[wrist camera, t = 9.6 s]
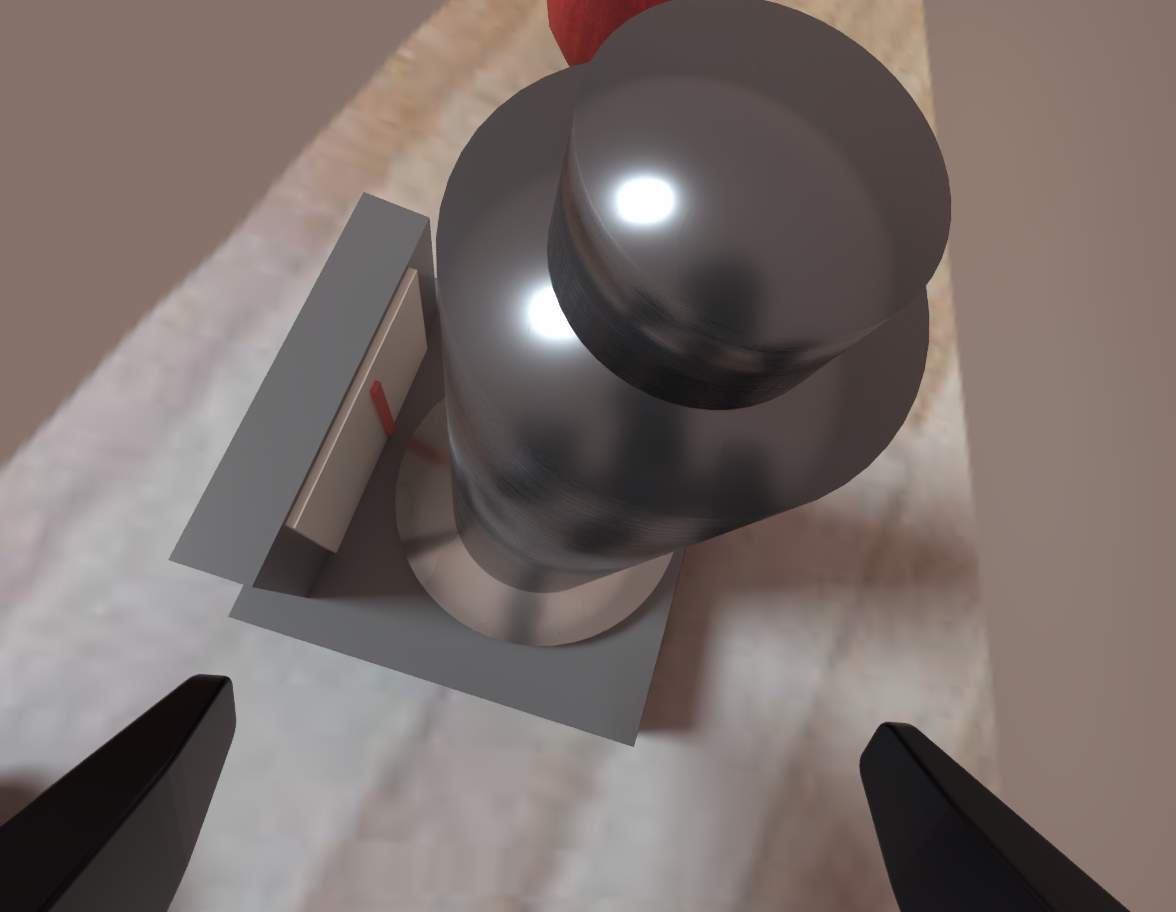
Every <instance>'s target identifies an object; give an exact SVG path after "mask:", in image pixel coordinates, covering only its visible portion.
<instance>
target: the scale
mask: <svg viewBox="0 0 1176 912" xmlns="http://www.w3.org/2000/svg"><path fill="white" fill-rule="evenodd" d="M444 397H445V382H444V368H443V353H442V339H441V324H440V310H439V295H438V281H437V278H434V266H433V254H432V242H431V231H430V219H429V217H426V216H424V215H421V214H418V213H416V212H413V211H411V210H408V209H406V208H403V207H401V206H398V205H395V204H393V203H390V202H388V201H385V200H383V199H380V198H378V197H375V196H372V195H370V194H367V193H365V192H363V194H362V196H361V198H360V200H359V202H358V204H357V206H356V208H355V209H354V211H353V213H352V215H351V217H350V219H349V221H348V223H347V224H346V226H345V228H344V230H343V232H342V234H341V236H340V238H339V240H338V241H337V243H336V245H335V247H334V249H333V251H332V253H331V255H330V256H329V258H328V260H327V262H326V264H325V266H324V268H323V270H322V272H321V273H320V275H319V277H318V279H317V281H316V283H315V285H314V287H313V288H312V290H311V292H310V294H309V296H308V298H307V300H306V302H305V304H304V305H303V307H302V309H301V311H300V313H299V315H298V317H297V319H296V320H295V322H294V324H293V326H292V328H291V330H290V332H289V334H288V336H287V337H286V339H285V341H284V343H283V345H282V347H281V349H280V351H279V352H278V354H277V356H276V358H275V360H274V362H273V364H272V366H271V368H270V369H269V371H268V373H267V375H266V377H265V379H264V381H263V383H262V384H261V386H260V388H259V390H258V392H257V394H256V396H255V398H254V400H253V401H252V403H251V405H250V407H249V409H248V411H247V413H246V415H245V416H244V418H243V420H242V422H241V424H240V426H239V428H238V430H237V432H236V433H235V435H234V437H233V439H232V441H231V443H230V445H229V447H228V448H227V450H226V452H225V454H224V456H223V458H222V460H221V462H220V464H219V465H218V467H217V469H216V471H215V473H214V475H213V477H212V479H211V480H210V482H209V484H208V486H207V488H206V490H205V492H204V494H203V496H202V497H201V499H200V501H199V503H198V505H197V507H196V509H195V511H194V512H193V514H192V516H191V518H190V520H189V522H188V524H187V526H186V528H185V529H184V531H183V533H182V535H181V537H180V539H179V541H178V543H177V544H176V546H175V548H174V550H173V552H172V554H171V556H170V558H169V560H170V561H173V562H176V563H179V564H183V565H186V566H189V567H192V568H195V569H198V570H201V571H204V572H207V573H210V574H213V575H216V576H219V577H222V578H225V579H228V580H231V581H235V582H238V583H241V584H244V585H243V587H242V589H241V591H240V594H239V596H238V598H237V600H236V602H235V604H234V606H233V608H232V610H231V612H230V614H229V616H228V617H231V618H234V619H237V620H240V621H244V622H247V623H250V624H253V625H256V626H259V627H262V628H265V629H268V630H272V631H275V632H278V633H281V634H284V635H287V636H290V637H293V638H296V639H300V640H303V641H306V642H309V643H312V644H315V645H318V646H321V647H324V648H328V649H331V650H334V651H337V652H340V653H343V654H346V655H349V656H352V657H356V658H359V659H362V660H365V661H368V662H371V663H374V664H377V665H380V666H384V667H387V668H390V669H393V670H396V671H399V672H402V673H405V674H408V675H412V676H415V677H418V678H421V679H424V680H427V681H430V682H433V683H436V684H440V685H443V686H446V687H449V688H452V689H455V690H458V691H461V692H464V693H468V694H471V695H474V696H477V697H480V698H483V699H486V700H489V701H492V702H496V703H499V704H502V705H505V706H508V707H511V708H514V709H517V710H520V711H524V712H527V713H530V714H533V715H536V716H539V717H542V718H545V719H548V720H552V721H555V722H558V723H561V724H564V725H567V726H570V727H573V728H577V729H580V730H583V731H586V732H589V733H592V734H595V735H598V736H601V737H605V738H608V739H611V740H614V741H617V742H620V743H623V744H626V745H629V746H633V747H634V744H635V740H636V737H637V733H638V729H639V725H640V722H641V718H642V714H643V710H644V706H645V703H646V699H647V695H648V691H649V687H650V684H651V680H652V676H653V672H654V668H655V665H656V661H657V657H658V653H659V649H660V646H661V642H662V638H663V634H664V630H665V627H666V623H667V619H668V615H669V612H670V608H671V604H672V600H673V596H674V593H675V589H676V585H677V581H678V577H679V574H680V570H681V566H682V562H683V558H684V555H685V551H686V547H685V548H682V549H680V550H677V551H674V552H673V554H672V557H671V560H670V562H669V564H668V566H667V568H666V570H665V572H664V574H663V576H662V578H661V580H660V581H659V583H658V584H657V585H656V587H655V588H654V590H653V591H652V593H651V594H650V595H649V596H648V597H647V598H646V599H645V601H644V602H643V603H642V604H641V605H640V606H639V607H638V608H637V609H636V610H634V611H633V612H632V613H631V614H630V615H629V616H627V617H626V618H625V619H624V620H622V621H620V622H619V623H617V624H616V625H614V626H613V627H611V628H610V629H607V630H605V631H603V632H601V633H599V634H597V635H595V636H592V637H589V638H586V639H583V640H580V641H576V642H573V643H567V644H561V645H555V646H529V645H520V644H513V643H509V642H505V641H501V640H497V639H494V638H491V637H489V636H486V635H484V634H481V633H479V632H477V631H475V630H473V629H471V628H469V627H468V626H466V625H464V624H462V623H461V622H459V621H458V620H456V619H455V618H454V617H453V616H451V615H450V614H449V613H447V612H446V611H445V610H444V609H443V608H442V607H441V606H440V605H439V604H438V603H437V602H436V601H435V600H434V599H433V598H432V597H431V596H430V595H429V594H428V592H427V591H426V590H425V588H424V587H423V586H422V584H421V583H420V581H419V580H418V579H417V577H416V575H415V573H414V572H413V570H412V568H411V566H410V564H409V562H408V560H407V558H406V555H405V552H404V549H403V547H402V544H401V541H400V536H399V532H398V527H397V522H396V508H395V498H396V484H397V479H398V474H399V469H400V465H401V462H402V459H403V456H404V453H405V451H406V448H407V446H408V444H409V442H410V440H411V438H412V436H413V434H414V432H415V431H416V429H417V428H418V426H419V425H420V423H421V422H422V421H423V419H424V418H425V416H426V415H427V414H428V413H429V412H430V411H431V410H432V409H433V408H434V407H435V405H436V404H437V403H438V402H439V401H441V400H442V399H443V398H444Z"/></svg>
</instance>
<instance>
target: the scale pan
mask: <svg viewBox="0 0 1176 912" xmlns="http://www.w3.org/2000/svg"><path fill="white" fill-rule="evenodd" d="M395 508H396V522H397V527H398V532H399V536H400V541H401V544H402V547H403V549H404V552H405V555H406V558H407V560H408V562H409V564H410V566H411V568H412V570H413V572H414V573H415V575H416V577H417V579H418V580H419V581H420V583H421V584H422V586H423V587H424V588H425V590H426V591H427V592H428V594H429V595H430V596H431V597H432V598H433V599H434V600H435V601H436V602H437V603H438V604H439V605H440V606H441V607H442V608H443V609H444V610H445V611H446V612H447V613H449V614H450V615H451V616H453V617H454V618H455V619H456V620H458V621H459V622H461V623H462V624H464V625H466V626H468V627H469V628H471V629H473V630H475V631H477V632H479V633H481V634H484V635H486V636H489V637H491V638H494V639H497V640H501V641H505V642H509V643H513V644H520V645H529V646H555V645H561V644H567V643H573V642H576V641H580V640H583V639H586V638H589V637H592V636H595V635H597V634H599V633H601V632H603V631H605V630H607V629H610V628H611V627H613V626H614V625H616V624H617V623H619V622H620V621H622V620H624V619H625V618H626V617H627V616H629V615H630V614H631V613H632V612H633V611H634V610H636V609H637V608H638V607H639V606H640V605H641V604H642V603H643V602H644V601H645V599H646V598H647V597H648V596H649V595H650V594H651V593H652V591H653V590H654V588H655V587H656V585H657V584H658V583H659V581H660V580H661V578H662V576H663V574H664V572H665V570H666V568H667V566H668V564H669V562H670V560H671V557H672V554H673V552H671V553H669V554H666V555H663V556H660V557H658V558H655V559H652V560H649V561H647V562H644V563H641V564H638V565H636V566H633V567H630V568H627V569H625V570H622V571H619V572H616V573H613V574H611V575H608V576H605V577H602V578H600V579H597V580H594V581H591V582H589V583H586V584H583V585H580V586H578V587H575V588H572V589H569V590H565V591H560V592H554V593H533V592H528V591H522V590H519V589H516V588H513V587H510V586H508V585H506V584H504V583H502V582H500V581H498V580H496V579H495V578H493V577H492V576H490V575H489V574H487V573H486V572H485V571H484V570H483V569H482V568H481V567H480V566H479V565H478V564H477V563H476V562H475V561H474V560H473V558H472V557H471V556H470V554H469V553H468V551H467V550H466V548H465V547H464V545H463V543H462V540H461V538H460V536H459V533H458V530H457V527H456V524H455V518H454V512H453V498H452V483H451V469H450V454H449V440H448V425H447V411H446V397H444V398H443V399H442V400H441V401H439V402H438V403H437V404H436V405H435V407H434V408H433V409H432V410H431V411H430V412H429V413H428V414H427V415H426V416H425V418H424V419H423V421H422V422H421V423H420V425H419V426H418V428H417V429H416V431H415V432H414V434H413V436H412V438H411V440H410V442H409V444H408V446H407V448H406V451H405V453H404V456H403V459H402V462H401V465H400V469H399V474H398V479H397V484H396V498H395Z"/></svg>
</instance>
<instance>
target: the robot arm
mask: <svg viewBox="0 0 1176 912" xmlns="http://www.w3.org/2000/svg"><path fill="white" fill-rule="evenodd" d="M235 728H236V712H235V703H234V693H233V685H232V681H231V679H230V678H229V677H227V676H220V675H206V674H198V675H194V676H192V677H190V678H189V679H187V680H186V681H184V682H183V683H182V684H181V685H179V686H178V687H177V688H176V689H174V690H173V691H172V692H170V693H169V694H168V695H167V696H165V697H164V698H163V699H161V700H160V701H159V702H158V703H156V704H155V705H154V706H152V707H151V708H150V709H149V710H147V711H146V712H145V713H143V714H142V715H141V716H140V717H138V718H137V719H136V720H135V721H133V722H132V723H131V724H129V725H128V726H127V727H126V728H124V729H123V730H122V731H120V732H119V733H118V734H117V735H115V736H114V737H113V738H111V739H110V740H109V741H108V742H106V743H105V744H104V745H102V746H101V747H100V748H99V749H97V750H96V751H95V752H94V753H92V754H91V755H90V756H88V757H87V758H86V759H85V760H83V761H82V762H81V763H79V764H78V765H77V766H76V767H74V768H73V769H72V770H70V771H69V772H68V773H67V774H65V775H64V776H63V777H61V778H60V779H59V780H58V781H56V782H55V783H54V784H53V785H51V786H50V787H49V788H47V789H46V790H45V791H44V792H42V793H41V794H40V795H38V796H37V797H36V798H35V799H33V800H32V801H31V802H29V803H28V804H27V805H26V806H24V807H23V808H22V809H20V810H19V811H18V812H17V813H15V814H14V815H13V816H12V817H10V818H9V819H8V820H6V821H5V822H4V823H3V824H1V825H0V912H167V910H168V908H169V906H170V904H171V902H172V900H173V897H174V895H175V893H176V891H177V889H178V887H179V884H180V882H181V880H182V878H183V875H184V873H185V871H186V868H187V866H188V863H189V861H190V858H191V855H192V853H193V850H194V847H195V845H196V842H197V839H198V836H199V833H200V830H201V828H202V825H203V822H204V819H205V816H206V813H207V811H208V808H209V805H210V802H211V799H212V796H213V794H214V791H215V788H216V785H217V782H218V780H219V777H220V774H221V771H222V768H223V765H224V763H225V760H226V757H227V754H228V751H229V748H230V746H231V743H232V740H233V737H234V733H235ZM859 767H860V775H861V779H862V782H863V786H864V790H865V793H866V797H867V801H868V804H869V808H870V812H871V815H872V819H873V823H874V826H875V830H876V834H877V837H878V841H879V845H880V848H881V852H882V856H883V859H884V863H885V866H886V870H887V873H888V876H889V880H890V883H891V886H892V889H893V892H894V895H895V898H896V901H897V904H898V906H899V909H900V912H1130V911H1129V910H1128V909H1126V907H1124V906H1123V905H1122V904H1121V903H1120V902H1118V901H1117V900H1116V899H1115V898H1114V897H1112V896H1111V895H1110V894H1109V893H1108V892H1107V891H1106V890H1105V889H1103V888H1102V887H1101V886H1100V885H1099V884H1098V883H1096V882H1095V881H1094V880H1093V879H1092V878H1091V877H1089V876H1088V875H1087V874H1086V873H1085V872H1084V871H1082V870H1081V869H1080V868H1079V867H1078V866H1077V865H1075V864H1074V863H1073V862H1072V861H1070V859H1068V858H1067V857H1066V856H1065V855H1064V854H1062V853H1061V852H1060V851H1059V850H1058V849H1057V848H1056V847H1055V846H1053V845H1052V844H1051V843H1050V842H1049V841H1048V840H1046V839H1045V838H1044V837H1043V836H1042V835H1041V834H1039V833H1038V832H1037V831H1036V830H1035V829H1034V828H1032V827H1031V826H1030V825H1029V824H1028V823H1026V822H1025V821H1024V820H1023V819H1022V818H1021V817H1020V816H1018V815H1017V814H1016V813H1015V812H1014V811H1013V810H1011V809H1010V808H1009V807H1008V806H1007V805H1006V804H1004V803H1003V802H1002V801H1001V800H1000V799H999V798H997V797H996V796H995V795H994V794H993V793H992V792H990V791H989V790H988V789H987V788H986V787H985V786H983V785H982V784H981V783H980V782H979V781H978V780H976V779H975V778H974V777H973V776H972V775H971V774H969V773H968V772H967V771H966V770H965V769H964V768H962V767H961V766H960V765H959V764H958V763H957V762H955V761H954V760H953V759H952V758H951V757H950V756H949V755H947V754H946V753H945V752H944V751H943V750H942V749H940V748H939V747H938V746H937V745H936V744H935V743H933V742H932V741H931V740H930V739H929V738H928V737H926V736H925V735H924V734H923V733H922V732H921V731H919V730H918V729H917V728H916V727H914V726H913V725H910V724H907V723H897V722H884V723H882V724H881V725H880V726H879V727H878V728H877V730H876V732H875V733H874V735H873V736H872V738H871V740H870V741H869V743H868V745H867V746H866V748H865V750H864V751H863V753H862V755H861V758H860V765H859Z"/></svg>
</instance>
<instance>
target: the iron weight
mask: <svg viewBox="0 0 1176 912" xmlns="http://www.w3.org/2000/svg"><path fill="white" fill-rule="evenodd" d="M950 222H951V194H950V187H949V179H948V175H947V171H946V167H945V163H944V159H943V156H942V153H941V151H940V148H939V146H938V143H937V141H936V138H935V136H934V134H933V132H932V130H931V128H930V126H929V124H928V122H927V120H926V119H925V117H924V115H923V113H922V112H921V110H920V109H919V107H918V106H917V104H916V103H915V101H914V100H913V98H912V97H911V96H910V94H909V93H908V92H907V91H906V89H905V88H904V87H903V86H902V85H901V83H900V82H899V81H898V80H897V79H896V77H895V76H894V75H893V74H892V73H891V72H890V71H889V70H888V69H887V68H886V67H885V66H884V65H883V64H882V63H881V62H880V61H878V60H877V59H876V58H875V57H874V56H873V55H871V54H870V53H869V52H868V51H867V50H865V49H864V48H863V47H862V46H860V45H859V44H858V43H856V42H855V41H853V40H852V39H850V38H849V37H847V36H846V35H845V34H843V33H842V32H840V31H838V30H836V29H835V28H833V27H831V26H829V25H828V24H826V23H824V22H822V21H820V20H818V19H816V18H814V17H812V16H809V15H807V14H805V13H803V12H801V11H798V10H795V9H792V8H789V7H786V6H783V5H780V4H778V3H773V2H769V1H765V0H672V1H667V2H665V3H662V4H659V5H657V6H654V7H651V8H649V9H647V10H645V11H643V12H641V13H639V14H638V15H636V16H634V17H632V18H630V19H629V20H628V21H626V22H625V23H624V24H623V25H621V26H620V27H619V28H617V29H616V30H615V31H614V32H613V33H612V34H611V35H610V36H609V37H608V38H607V39H606V40H605V42H604V43H603V44H602V45H601V46H600V47H599V49H598V50H597V52H596V53H595V55H594V57H593V58H592V60H591V61H590V62H588V63H584V64H580V65H576V66H572V67H569V68H566V69H564V70H561V71H559V72H556V73H553V74H551V75H548V76H546V77H544V78H542V79H540V80H538V81H537V82H535V83H533V84H531V85H529V86H528V87H526V88H524V89H522V90H520V91H519V92H518V93H516V94H515V95H514V96H513V97H511V98H510V99H509V100H507V101H506V102H505V103H503V104H502V105H501V106H500V107H498V108H497V109H496V110H495V111H494V112H493V113H492V114H491V115H490V116H489V118H488V119H487V120H486V121H485V122H484V123H483V124H482V125H481V126H480V127H479V128H478V129H477V131H476V132H475V133H474V135H473V136H472V138H471V139H470V141H469V142H468V144H467V145H466V146H465V148H464V149H463V151H462V152H461V154H460V156H459V158H458V161H457V163H456V165H455V167H454V169H453V171H452V173H451V175H450V177H449V180H448V183H447V186H446V190H445V193H444V196H443V200H442V203H441V207H440V213H439V220H438V228H437V235H436V257H437V281H438V295H439V310H440V324H441V339H442V353H443V368H444V382H445V397H446V411H447V425H448V440H449V454H450V469H451V483H452V498H453V512H454V518H455V524H456V527H457V530H458V533H459V536H460V538H461V540H462V543H463V545H464V547H465V548H466V550H467V551H468V553H469V554H470V556H471V557H472V558H473V560H474V561H475V562H476V563H477V564H478V565H479V566H480V567H481V568H482V569H483V570H484V571H485V572H486V573H487V574H489V575H490V576H492V577H493V578H495V579H496V580H498V581H500V582H502V583H504V584H506V585H508V586H510V587H513V588H516V589H519V590H522V591H528V592H533V593H554V592H560V591H565V590H569V589H572V588H575V587H578V586H580V585H583V584H586V583H589V582H591V581H594V580H597V579H600V578H602V577H605V576H608V575H611V574H613V573H616V572H619V571H622V570H625V569H627V568H630V567H633V566H636V565H638V564H641V563H644V562H647V561H649V560H652V559H655V558H658V557H660V556H663V555H666V554H669V553H671V552H674V551H677V550H680V549H682V548H685V547H688V546H691V545H694V544H696V543H699V542H702V541H705V540H707V539H710V538H713V537H716V536H718V535H721V534H724V533H727V532H729V531H732V530H735V529H738V528H740V527H743V526H746V525H749V524H751V523H754V522H757V521H760V520H762V519H765V518H768V517H771V516H774V515H776V514H779V513H782V512H785V511H787V510H790V509H793V508H796V507H798V506H801V505H804V504H807V503H809V502H812V501H815V500H817V499H819V498H821V497H823V496H825V495H827V494H828V493H830V492H832V491H834V490H836V489H838V488H840V487H841V486H843V485H845V484H846V483H847V482H849V481H850V480H851V479H853V478H854V477H855V476H857V475H858V474H859V473H860V472H862V471H863V470H864V469H866V468H867V467H868V466H869V465H870V464H871V463H872V462H873V461H874V460H875V459H876V458H877V457H878V456H879V455H880V454H881V452H882V451H883V450H884V449H885V448H886V447H887V446H888V445H889V443H890V442H891V441H892V439H893V438H894V436H895V435H896V433H897V432H898V430H899V429H900V427H901V426H902V425H903V423H904V421H905V419H906V417H907V415H908V413H909V411H910V409H911V407H912V405H913V403H914V401H915V398H916V396H917V393H918V390H919V386H920V383H921V380H922V377H923V373H924V370H925V364H926V357H927V351H928V344H929V308H928V299H927V291H926V285H927V283H928V282H929V281H930V279H931V278H932V277H933V275H934V273H935V271H936V269H937V267H938V265H939V263H940V261H941V259H942V256H943V253H944V250H945V247H946V244H947V240H948V235H949V228H950Z"/></svg>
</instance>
